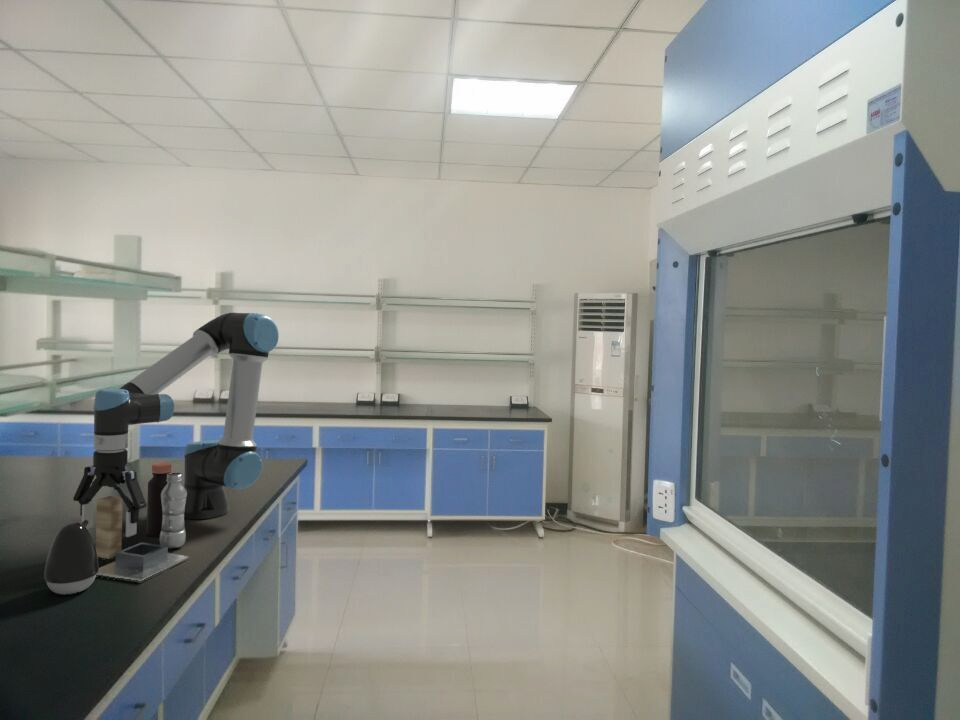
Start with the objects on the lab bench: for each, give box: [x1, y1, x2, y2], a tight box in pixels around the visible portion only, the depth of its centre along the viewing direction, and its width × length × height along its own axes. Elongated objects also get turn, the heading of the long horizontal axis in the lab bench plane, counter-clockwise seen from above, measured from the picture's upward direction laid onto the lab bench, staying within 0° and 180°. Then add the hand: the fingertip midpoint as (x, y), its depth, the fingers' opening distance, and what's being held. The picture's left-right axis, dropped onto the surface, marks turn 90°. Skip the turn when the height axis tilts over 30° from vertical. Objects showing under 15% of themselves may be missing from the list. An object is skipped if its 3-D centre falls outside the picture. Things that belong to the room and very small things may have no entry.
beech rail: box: [95, 495, 124, 559], centre depth 159 cm, size 4×4×15 cm
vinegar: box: [146, 462, 172, 537], centre depth 177 cm, size 7×7×20 cm
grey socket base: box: [96, 541, 190, 581], centre depth 153 cm, size 16×14×4 cm
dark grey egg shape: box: [43, 520, 100, 596], centre depth 139 cm, size 10×10×15 cm
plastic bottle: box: [159, 472, 187, 550], centre depth 167 cm, size 6×7×20 cm
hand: (108, 532), depth 159 cm, fingers open, 13 cm apart
